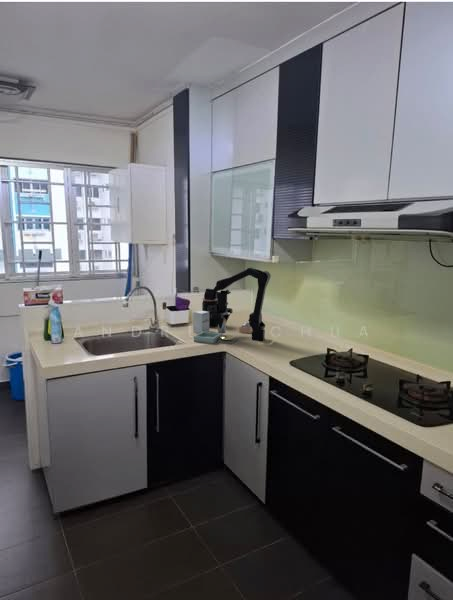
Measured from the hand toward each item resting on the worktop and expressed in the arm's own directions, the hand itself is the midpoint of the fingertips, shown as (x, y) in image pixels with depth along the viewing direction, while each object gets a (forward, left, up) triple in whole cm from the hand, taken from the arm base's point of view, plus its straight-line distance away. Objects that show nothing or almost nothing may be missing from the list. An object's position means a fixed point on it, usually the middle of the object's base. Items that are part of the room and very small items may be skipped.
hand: (221, 327), depth 233 cm
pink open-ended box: (-10, -15, -6) cm, 19 cm away
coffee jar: (+18, -23, -6) cm, 30 cm away
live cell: (0, 0, -3) cm, 3 cm away
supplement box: (+16, -5, -6) cm, 18 cm away
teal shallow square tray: (+4, +10, -6) cm, 12 cm away
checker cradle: (-7, +8, -6) cm, 12 cm away
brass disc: (-7, +8, -4) cm, 11 cm away
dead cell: (-10, -15, -5) cm, 19 cm away
